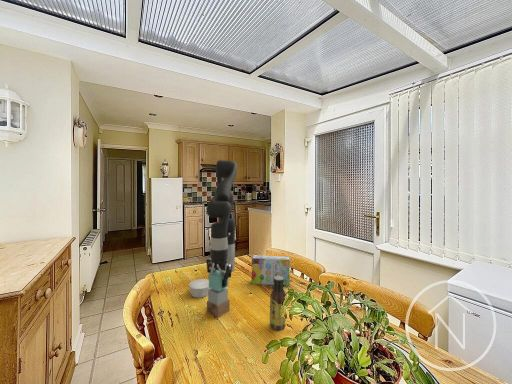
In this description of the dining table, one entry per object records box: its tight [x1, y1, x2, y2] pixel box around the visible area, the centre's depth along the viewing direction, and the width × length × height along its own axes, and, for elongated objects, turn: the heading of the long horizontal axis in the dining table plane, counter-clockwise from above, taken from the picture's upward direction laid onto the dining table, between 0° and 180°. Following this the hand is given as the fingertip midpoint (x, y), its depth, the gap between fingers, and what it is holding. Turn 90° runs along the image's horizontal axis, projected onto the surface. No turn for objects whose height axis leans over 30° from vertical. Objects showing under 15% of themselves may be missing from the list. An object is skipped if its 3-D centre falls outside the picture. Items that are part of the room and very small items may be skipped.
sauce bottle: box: [269, 276, 287, 331], centre depth 91 cm, size 6×6×20 cm
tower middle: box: [207, 287, 229, 306], centre depth 101 cm, size 6×6×5 cm
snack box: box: [251, 254, 291, 287], centre depth 130 cm, size 21×6×15 cm, turn 84°
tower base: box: [206, 298, 231, 319], centre depth 101 cm, size 7×7×5 cm
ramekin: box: [188, 278, 211, 298], centre depth 117 cm, size 11×11×5 cm
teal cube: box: [208, 270, 229, 291], centre depth 100 cm, size 6×6×6 cm
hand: (218, 284), depth 101 cm, fingers closed on teal cube, 5 cm apart
